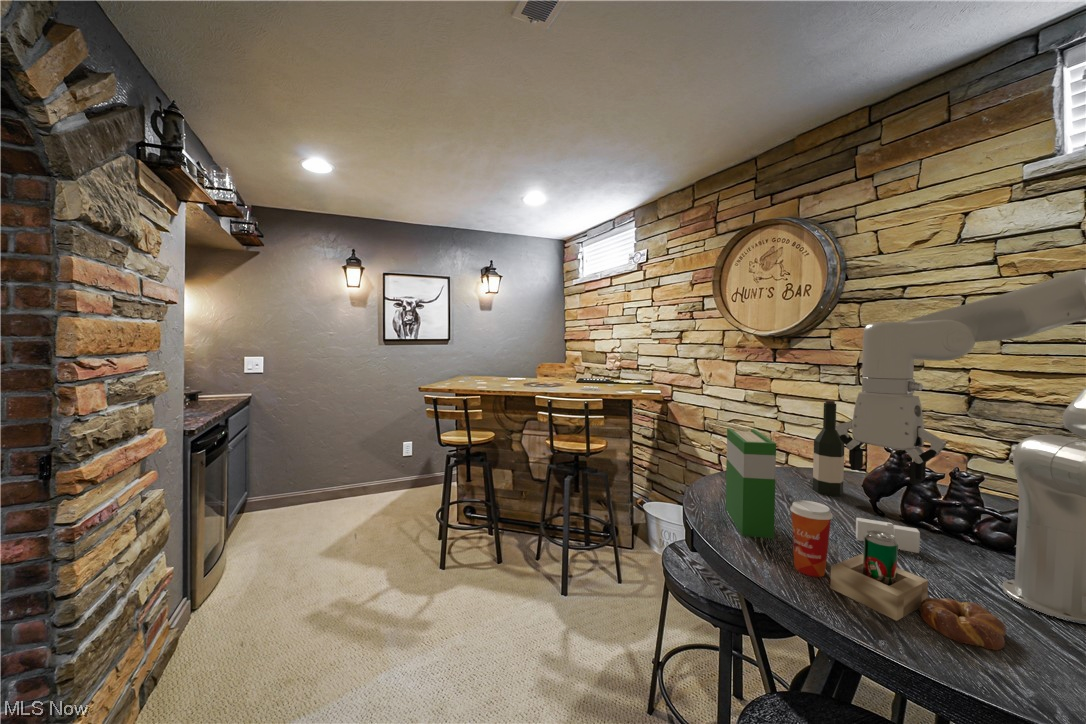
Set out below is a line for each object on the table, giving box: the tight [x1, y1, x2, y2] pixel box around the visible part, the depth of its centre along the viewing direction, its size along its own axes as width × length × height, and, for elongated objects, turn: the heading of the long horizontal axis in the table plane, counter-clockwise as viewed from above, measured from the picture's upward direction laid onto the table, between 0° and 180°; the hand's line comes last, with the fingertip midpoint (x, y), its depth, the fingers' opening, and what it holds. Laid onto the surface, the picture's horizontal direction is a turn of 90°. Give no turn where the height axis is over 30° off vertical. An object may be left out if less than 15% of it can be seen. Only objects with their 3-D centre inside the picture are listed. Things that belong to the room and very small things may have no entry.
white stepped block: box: [855, 517, 921, 554], centre depth 101 cm, size 15×11×6 cm
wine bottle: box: [812, 399, 846, 497], centre depth 137 cm, size 8×8×30 cm
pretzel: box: [919, 597, 1007, 651], centre depth 72 cm, size 12×11×4 cm
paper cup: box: [789, 499, 834, 578], centre depth 90 cm, size 8×8×14 cm
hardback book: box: [725, 427, 777, 539], centre depth 113 cm, size 18×7×24 cm, turn 169°
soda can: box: [863, 530, 899, 586], centre depth 80 cm, size 5×5×12 cm
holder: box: [829, 553, 929, 622], centre depth 81 cm, size 11×11×4 cm
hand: (884, 475), depth 80 cm, fingers open, 9 cm apart
